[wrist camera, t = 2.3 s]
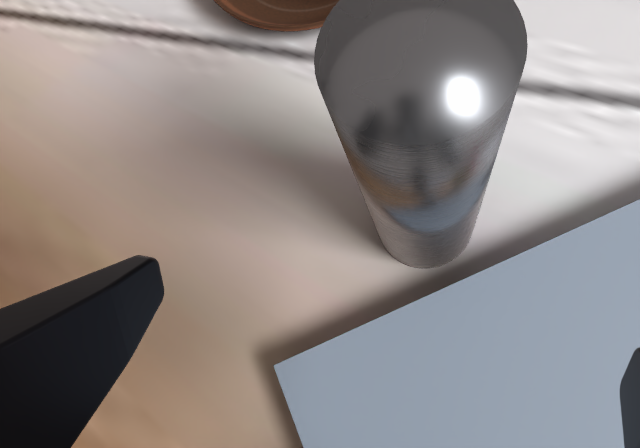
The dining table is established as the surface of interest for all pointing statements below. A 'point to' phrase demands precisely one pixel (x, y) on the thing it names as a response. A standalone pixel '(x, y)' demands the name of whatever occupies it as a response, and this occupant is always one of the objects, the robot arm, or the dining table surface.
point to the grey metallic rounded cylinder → (421, 111)
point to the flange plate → (487, 355)
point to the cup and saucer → (280, 13)
